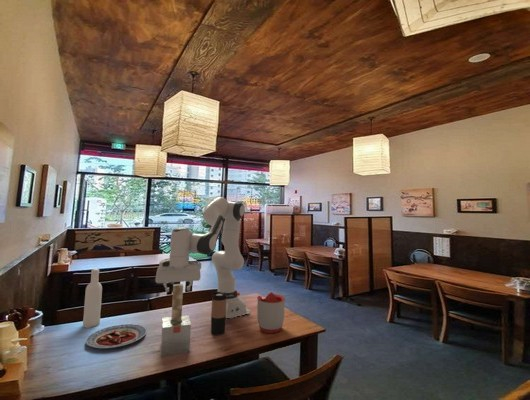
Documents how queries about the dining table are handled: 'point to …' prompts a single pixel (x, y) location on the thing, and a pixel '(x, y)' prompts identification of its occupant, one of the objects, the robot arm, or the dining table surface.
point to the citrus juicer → (270, 312)
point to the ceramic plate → (116, 336)
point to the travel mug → (218, 313)
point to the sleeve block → (175, 336)
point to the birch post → (177, 303)
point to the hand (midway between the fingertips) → (177, 291)
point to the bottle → (92, 301)
